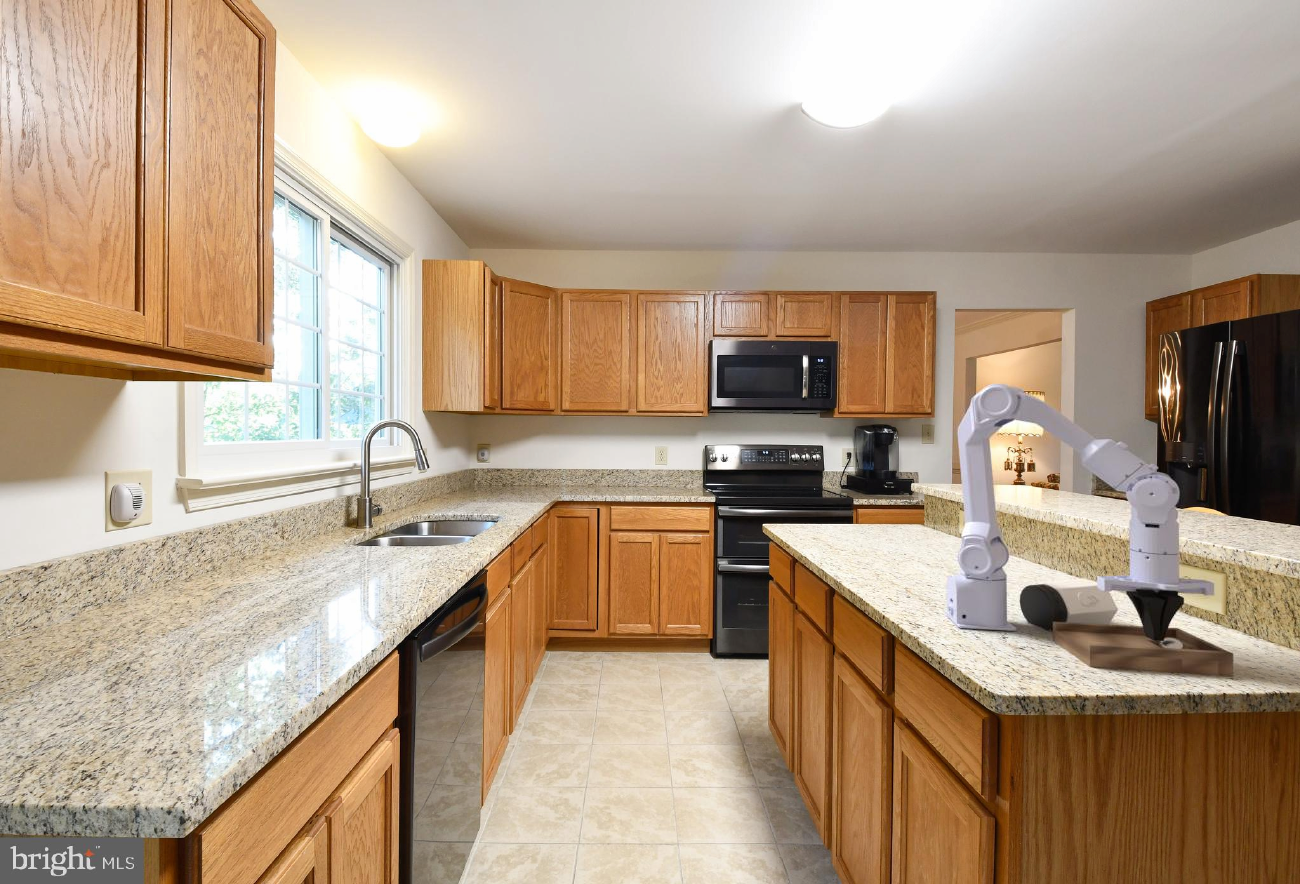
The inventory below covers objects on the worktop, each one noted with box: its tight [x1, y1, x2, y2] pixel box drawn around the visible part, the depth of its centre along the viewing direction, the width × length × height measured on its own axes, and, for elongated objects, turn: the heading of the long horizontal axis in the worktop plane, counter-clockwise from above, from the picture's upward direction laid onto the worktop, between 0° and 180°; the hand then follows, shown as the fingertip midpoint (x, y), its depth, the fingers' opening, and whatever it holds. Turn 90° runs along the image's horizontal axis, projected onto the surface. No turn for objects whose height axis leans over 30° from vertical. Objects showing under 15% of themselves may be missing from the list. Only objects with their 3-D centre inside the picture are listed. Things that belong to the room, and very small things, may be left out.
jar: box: [1019, 577, 1119, 631], centre depth 102 cm, size 9×8×12 cm
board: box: [1052, 622, 1234, 677], centre depth 87 cm, size 18×11×3 cm, turn 78°
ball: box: [1158, 638, 1186, 649], centre depth 86 cm, size 3×3×3 cm
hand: (1154, 638), depth 86 cm, fingers closed
